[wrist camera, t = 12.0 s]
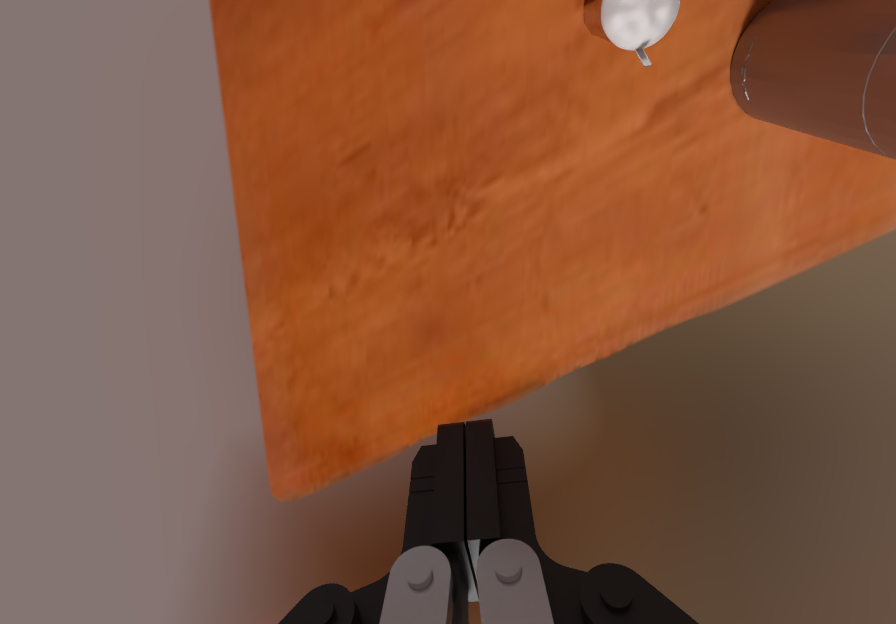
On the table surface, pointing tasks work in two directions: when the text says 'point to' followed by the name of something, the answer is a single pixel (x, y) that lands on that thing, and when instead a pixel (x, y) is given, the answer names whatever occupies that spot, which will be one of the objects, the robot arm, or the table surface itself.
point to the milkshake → (631, 22)
